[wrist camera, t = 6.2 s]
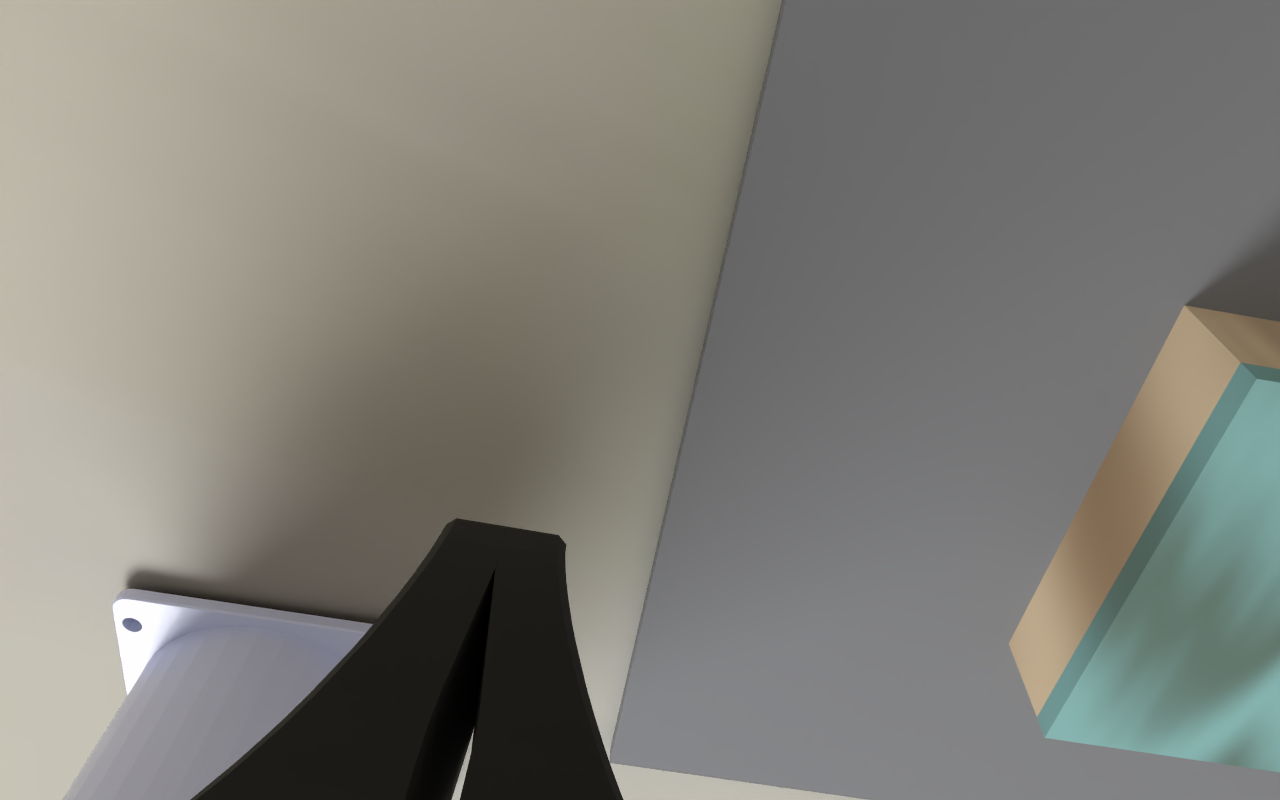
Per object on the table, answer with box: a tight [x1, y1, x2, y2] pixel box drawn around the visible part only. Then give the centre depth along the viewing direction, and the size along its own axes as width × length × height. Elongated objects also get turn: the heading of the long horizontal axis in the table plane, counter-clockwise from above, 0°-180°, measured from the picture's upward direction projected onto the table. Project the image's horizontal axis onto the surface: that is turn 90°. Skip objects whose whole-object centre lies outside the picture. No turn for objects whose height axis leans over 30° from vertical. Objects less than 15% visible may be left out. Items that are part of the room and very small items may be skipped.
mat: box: [610, 0, 1280, 800], centre depth 23 cm, size 24×20×1 cm
